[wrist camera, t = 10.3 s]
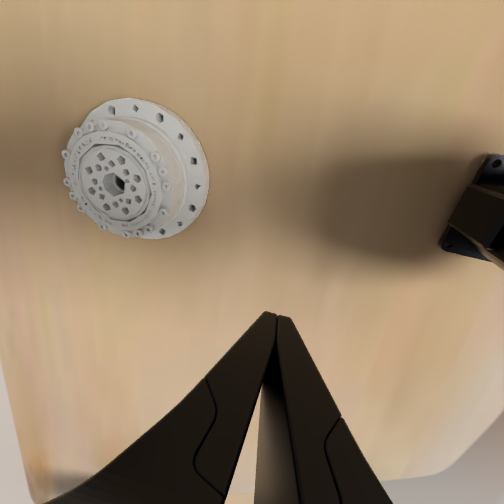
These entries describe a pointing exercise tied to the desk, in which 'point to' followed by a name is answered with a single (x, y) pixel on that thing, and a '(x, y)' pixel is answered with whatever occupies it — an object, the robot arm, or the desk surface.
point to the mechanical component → (136, 169)
